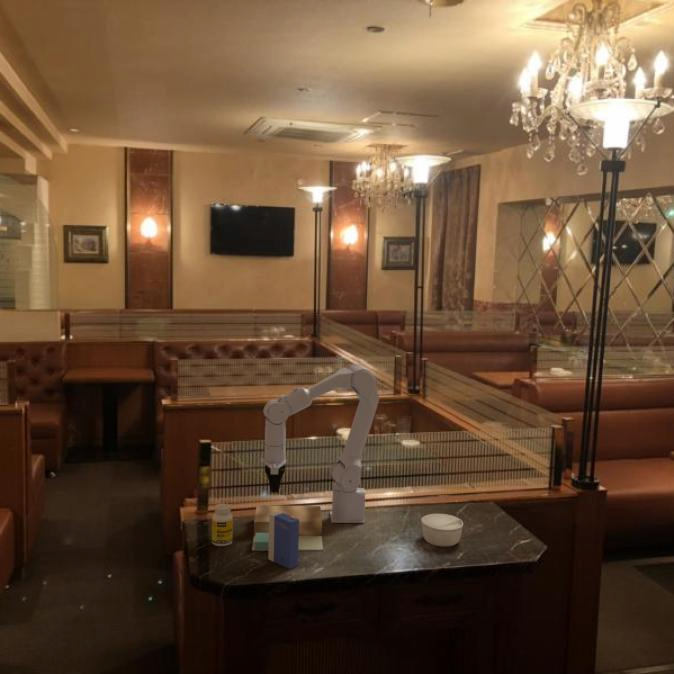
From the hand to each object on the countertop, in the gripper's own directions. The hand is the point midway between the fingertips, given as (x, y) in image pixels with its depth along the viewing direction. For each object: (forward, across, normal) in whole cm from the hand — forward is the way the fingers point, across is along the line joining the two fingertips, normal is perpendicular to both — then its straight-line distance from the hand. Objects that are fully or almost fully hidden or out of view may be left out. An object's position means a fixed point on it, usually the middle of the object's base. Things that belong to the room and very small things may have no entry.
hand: (274, 491), depth 191 cm
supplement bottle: (+9, +12, -13) cm, 20 cm away
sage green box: (+7, +15, 0) cm, 16 cm away
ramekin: (+10, +11, +45) cm, 47 cm away
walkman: (+10, +25, +3) cm, 27 cm away
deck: (+9, +3, +4) cm, 10 cm away
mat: (+9, +13, +4) cm, 17 cm away
